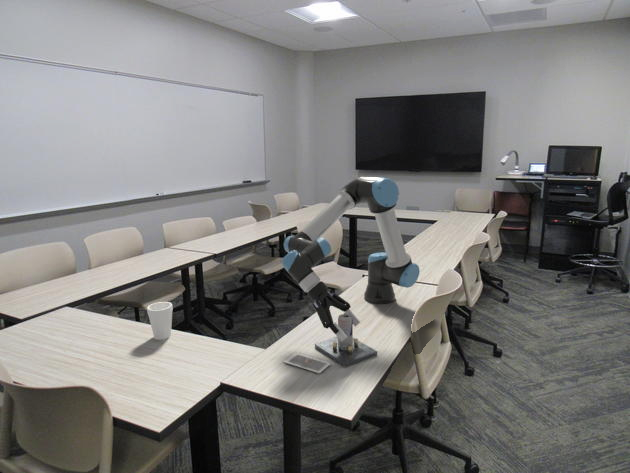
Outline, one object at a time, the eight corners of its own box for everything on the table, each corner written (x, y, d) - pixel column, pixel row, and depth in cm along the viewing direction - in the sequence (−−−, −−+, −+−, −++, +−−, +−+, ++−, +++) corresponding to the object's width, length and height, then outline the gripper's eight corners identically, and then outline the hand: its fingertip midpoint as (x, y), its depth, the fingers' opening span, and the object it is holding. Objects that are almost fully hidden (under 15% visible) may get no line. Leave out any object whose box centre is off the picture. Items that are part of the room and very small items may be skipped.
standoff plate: (346, 337, 165) (346, 327, 164) (377, 355, 151) (377, 344, 150) (314, 347, 157) (314, 337, 156) (344, 367, 143) (344, 356, 142)
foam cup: (179, 333, 170) (177, 303, 167) (163, 343, 162) (159, 312, 159) (162, 329, 174) (159, 300, 171) (145, 339, 166) (141, 308, 163)
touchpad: (295, 355, 152) (295, 349, 152) (331, 366, 145) (331, 360, 144) (283, 364, 146) (283, 358, 146) (319, 376, 138) (319, 370, 138)
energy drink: (354, 345, 155) (354, 314, 153) (350, 351, 150) (350, 320, 148) (340, 342, 157) (340, 313, 155) (336, 349, 152) (336, 318, 150)
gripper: (321, 282, 167) (356, 324, 164) (291, 303, 145) (331, 351, 142) (333, 271, 164) (369, 313, 161) (304, 291, 142) (345, 340, 139)
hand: (351, 331), depth 151 cm, fingers open, 13 cm apart
